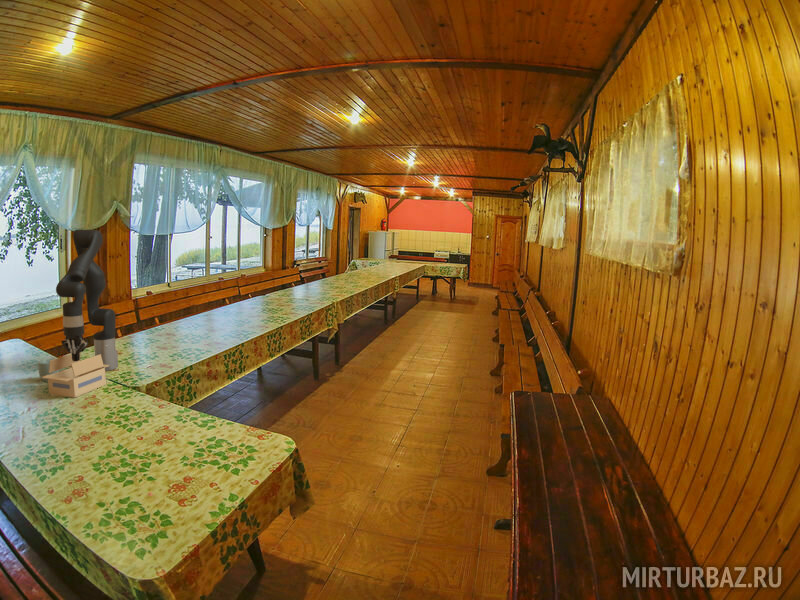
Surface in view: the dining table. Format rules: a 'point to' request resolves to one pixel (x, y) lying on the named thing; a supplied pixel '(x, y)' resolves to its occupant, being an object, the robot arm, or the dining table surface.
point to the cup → (45, 369)
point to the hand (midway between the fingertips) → (76, 360)
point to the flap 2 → (87, 365)
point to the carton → (75, 382)
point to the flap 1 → (61, 363)
